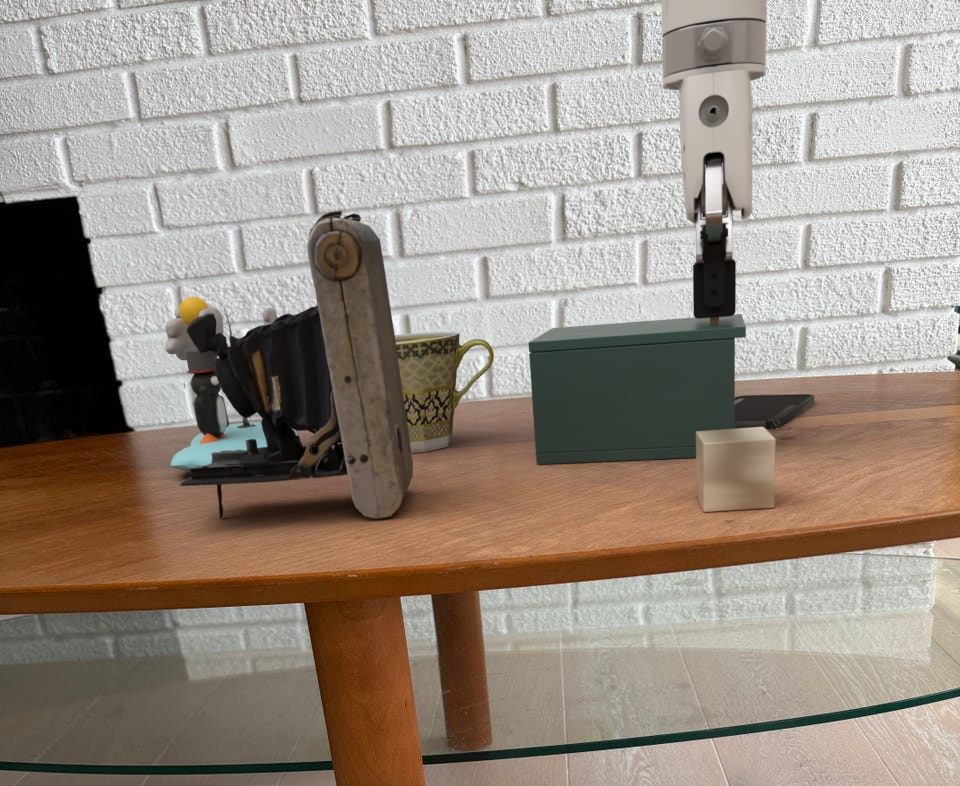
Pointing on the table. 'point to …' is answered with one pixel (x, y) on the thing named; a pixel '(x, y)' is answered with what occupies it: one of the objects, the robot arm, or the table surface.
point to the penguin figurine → (208, 390)
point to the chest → (630, 400)
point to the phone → (769, 409)
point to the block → (735, 469)
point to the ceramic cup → (432, 384)
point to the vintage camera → (320, 380)
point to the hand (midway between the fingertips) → (714, 311)
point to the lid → (639, 333)
